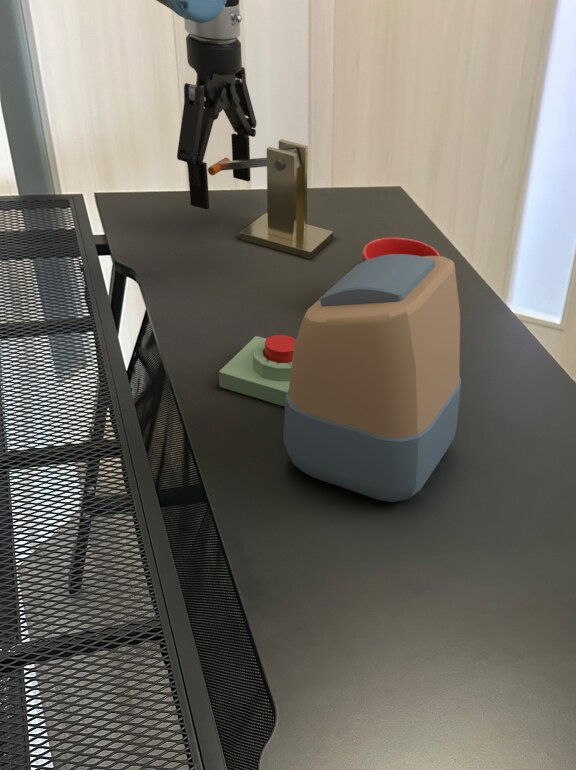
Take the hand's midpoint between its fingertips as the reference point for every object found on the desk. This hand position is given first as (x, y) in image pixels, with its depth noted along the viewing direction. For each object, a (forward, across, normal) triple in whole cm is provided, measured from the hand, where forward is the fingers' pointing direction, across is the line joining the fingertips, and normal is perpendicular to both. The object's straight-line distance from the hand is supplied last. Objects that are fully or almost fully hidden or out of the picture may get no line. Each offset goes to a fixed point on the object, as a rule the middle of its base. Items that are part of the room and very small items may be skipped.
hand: (221, 192), depth 135 cm
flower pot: (+5, -15, -35) cm, 39 cm away
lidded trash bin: (+5, -48, -44) cm, 65 cm away
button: (+1, -38, -28) cm, 47 cm away
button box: (+4, -38, -28) cm, 48 cm away
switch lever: (-5, 0, -6) cm, 8 cm away
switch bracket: (+4, 0, -11) cm, 12 cm away
